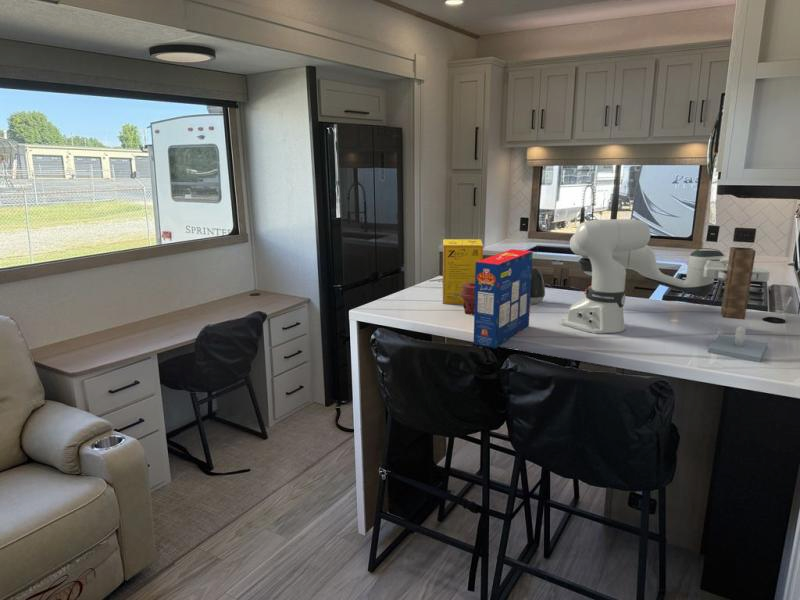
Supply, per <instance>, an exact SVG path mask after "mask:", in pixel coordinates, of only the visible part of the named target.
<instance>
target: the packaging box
mask: <svg viewBox="0 0 800 600" xmlns="http://www.w3.org/2000/svg"><path fill="white" fill-rule="evenodd" d="M483 252H484V244H483V242H482V239H474V238H473V239H458V238H455V239H450V238H449V239H448V238H447V239H443V243H442V304H443V305H445V304H446V305H449V304H451V305H453V304H454V305H464V299H463V298H461V297H460V292H462V285H463V284H465V283H468V282H475V268H476V262H477V261H480V260H482V259H484V258H483Z"/></svg>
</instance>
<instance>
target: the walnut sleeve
mask: <svg viewBox="0 0 800 600" xmlns="http://www.w3.org/2000/svg"><path fill="white" fill-rule="evenodd" d="M756 251H757V250H755V249H754V248H753V247H739V246H738V247H737V246H730V248H729V253H730V254H729V261H728V268H727V274H729V276H728V279H726V281H724V288H723V289H724V290H723V294H722V295H723V296H722V300H721V301H722V303H721V309H720V314H721V316H722V318H723V319H724V318H725V319H736V320H745V318H746V313H747V306H748V301H749V294H750V288H751V283H752V281H751V277H752V271H753V268H754V266H755V265H754V263H755V259H756V258H755V257H756V253H757V252H756Z"/></svg>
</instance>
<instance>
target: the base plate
mask: <svg viewBox="0 0 800 600" xmlns="http://www.w3.org/2000/svg"><path fill="white" fill-rule="evenodd" d="M746 330H747V329H746V328H745V327H743V326H738V327H736V329H735V334H734V337H732V336H728V335H722V334H718V335H717V337H716V338H715V339H714V340H713V342H712V343H711V344H710V345H709V346H708V348H707V349H708V350H707V353H709V354H714V355H721V356H725V357H731V358H736V359H740V358H741V359H740V360H745V359H747V360H746V361H751V360H752V362H756V361H757V362H756V363H760V362H761V361H762V358H763V357H764V354H765V353H766V352H767V349H768V343H767V342H762V341H756V340H749V339H746V338H745V337H746Z"/></svg>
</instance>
